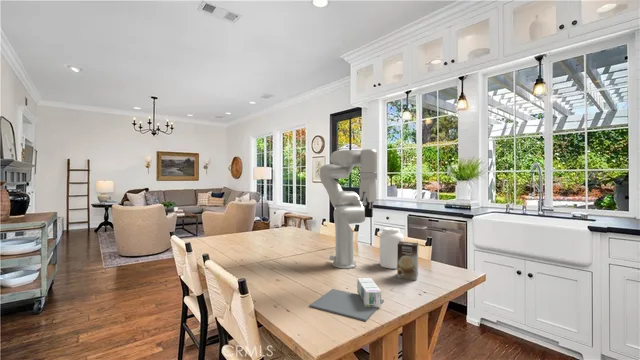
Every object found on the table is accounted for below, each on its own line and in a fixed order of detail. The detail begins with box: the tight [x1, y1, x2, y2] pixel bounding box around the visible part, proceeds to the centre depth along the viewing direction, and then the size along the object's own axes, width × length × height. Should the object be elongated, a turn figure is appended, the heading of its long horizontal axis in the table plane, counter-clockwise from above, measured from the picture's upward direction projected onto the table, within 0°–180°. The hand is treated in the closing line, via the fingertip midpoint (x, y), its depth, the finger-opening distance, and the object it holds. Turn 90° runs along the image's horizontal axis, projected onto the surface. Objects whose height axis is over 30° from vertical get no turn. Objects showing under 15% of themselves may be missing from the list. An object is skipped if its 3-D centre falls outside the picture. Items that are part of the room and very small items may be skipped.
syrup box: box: [356, 277, 382, 308], centre depth 113 cm, size 6×6×14 cm
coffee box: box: [396, 241, 419, 281], centre depth 139 cm, size 9×6×16 cm
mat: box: [309, 288, 385, 322], centre depth 110 cm, size 22×18×1 cm
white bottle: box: [379, 226, 405, 270], centre depth 157 cm, size 12×12×20 cm
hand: (368, 217), depth 134 cm, fingers closed
